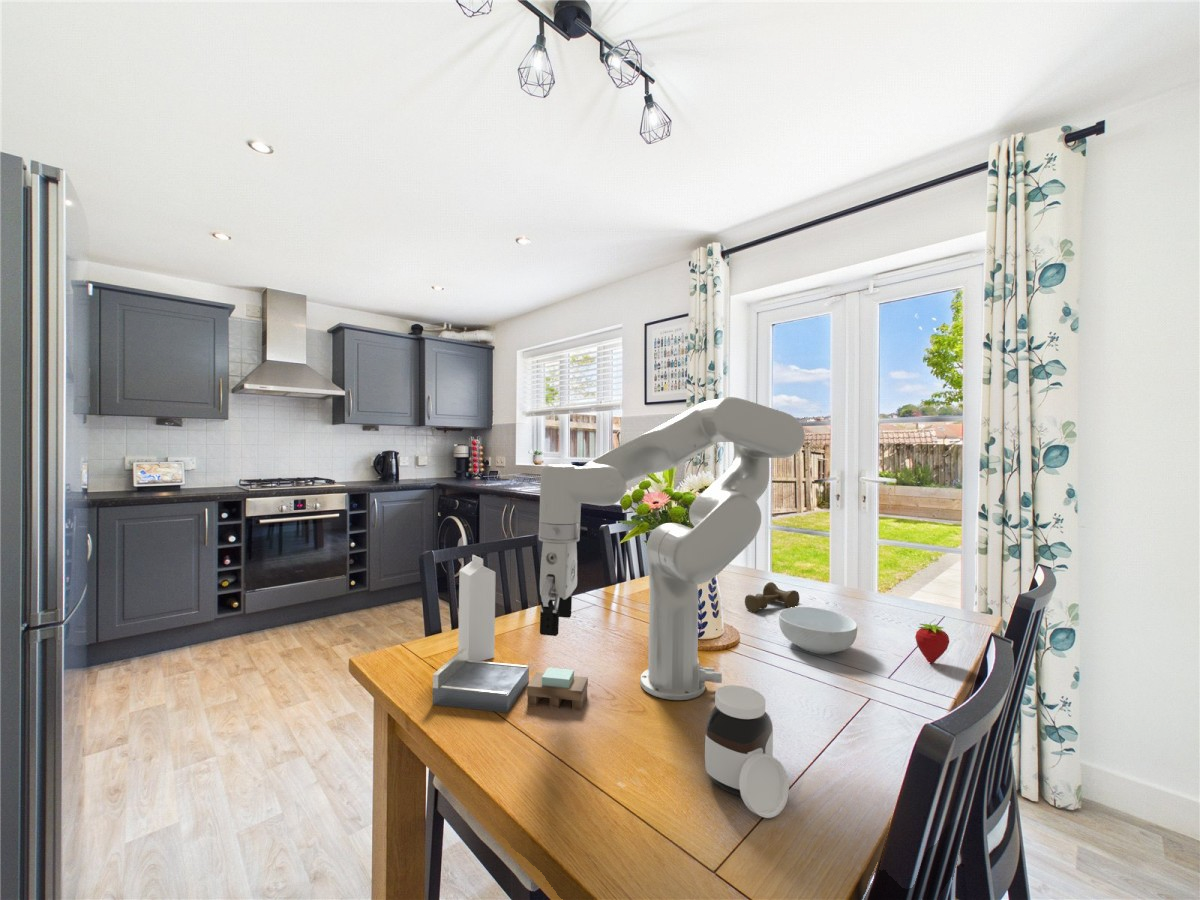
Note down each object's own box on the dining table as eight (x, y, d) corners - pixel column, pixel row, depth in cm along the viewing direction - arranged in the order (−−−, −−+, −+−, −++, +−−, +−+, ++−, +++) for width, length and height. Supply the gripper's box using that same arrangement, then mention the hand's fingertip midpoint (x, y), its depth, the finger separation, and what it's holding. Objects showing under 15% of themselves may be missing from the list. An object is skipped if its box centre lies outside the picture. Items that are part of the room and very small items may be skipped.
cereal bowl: (779, 656, 112) (779, 624, 112) (777, 631, 128) (778, 603, 128) (862, 667, 107) (863, 634, 107) (850, 640, 123) (851, 611, 123)
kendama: (737, 609, 147) (781, 597, 158) (763, 619, 139) (808, 606, 150) (737, 589, 147) (781, 578, 158) (763, 598, 139) (808, 586, 149)
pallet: (587, 696, 93) (587, 677, 93) (581, 711, 88) (581, 691, 88) (536, 690, 95) (536, 672, 95) (526, 705, 89) (527, 685, 89)
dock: (528, 681, 98) (529, 653, 98) (507, 712, 86) (507, 681, 86) (462, 674, 101) (462, 648, 101) (432, 704, 89) (432, 674, 89)
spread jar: (730, 752, 76) (731, 676, 76) (805, 785, 69) (806, 701, 69) (688, 791, 67) (690, 705, 67) (770, 835, 60) (772, 738, 60)
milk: (468, 664, 106) (469, 561, 105) (457, 655, 110) (458, 555, 110) (495, 657, 109) (496, 557, 109) (483, 648, 114) (484, 552, 114)
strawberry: (955, 664, 109) (956, 619, 109) (937, 672, 105) (938, 624, 105) (926, 654, 114) (927, 611, 114) (908, 661, 110) (909, 616, 110)
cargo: (573, 677, 93) (574, 669, 93) (568, 687, 89) (569, 679, 89) (547, 675, 94) (548, 667, 94) (541, 685, 90) (541, 676, 90)
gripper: (568, 541, 82) (564, 645, 82) (588, 526, 99) (585, 612, 99) (524, 538, 83) (521, 640, 83) (552, 524, 100) (549, 609, 100)
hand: (556, 625), depth 91 cm, fingers open, 9 cm apart
